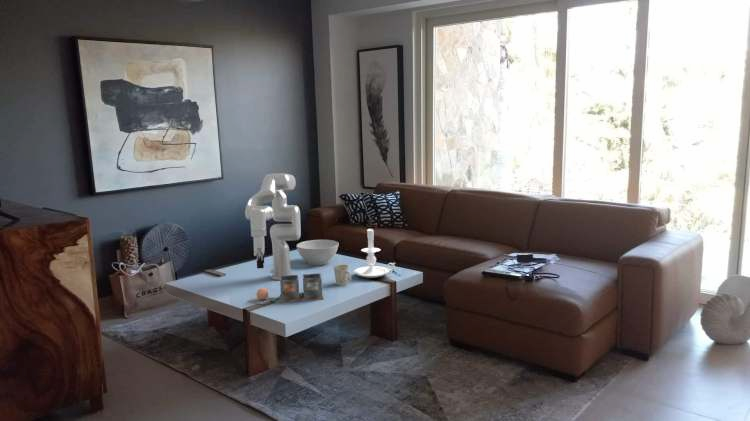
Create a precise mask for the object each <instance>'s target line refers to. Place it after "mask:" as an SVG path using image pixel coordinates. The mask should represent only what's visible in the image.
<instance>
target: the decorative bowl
mask: <svg viewBox="0 0 750 421" xmlns="http://www.w3.org/2000/svg"><path fill="white" fill-rule="evenodd" d="M338 248H339V242H338V241H336V240H332V239H313V240H312V239H311V240H305V241H301V242H299V243H297V244H296V250H297V252H298V254H299V255H300V257H301V258H302V259H303V260H305V261H306V262H308V264H309V265H312V266H320V265H323V266H324V265H326V264H328V263H329V261H330V260H332V259H333V257H335V255H336V254H337V251H338Z"/></svg>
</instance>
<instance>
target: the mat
mask: <svg viewBox="0 0 750 421" xmlns="http://www.w3.org/2000/svg"><path fill="white" fill-rule="evenodd" d="M268 300H270V301H272V302H275V301H277V300H279V298H277V297H272V296H269V295H268V297H267V298H266V299H264V300H260V299H258V297H257V296H256V297H254V298H251V299H249V300H247V302H248V303H253V304H256V305H259V304H258V303H261V302H264V301H268Z"/></svg>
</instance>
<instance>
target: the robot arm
mask: <svg viewBox="0 0 750 421" xmlns="http://www.w3.org/2000/svg"><path fill="white" fill-rule="evenodd" d="M296 182H297V181H296V178H295V176H294V175H293V174H289V173H285V172H284V173H283V172H280V173H274V172H273V173H269V174H266V175H264V178H263V181H262V184H261V186H260V190H259V191H258V192H257V193H255V194H254V195H252V197H250V198H249V199H248V200H247V204H246V207H245V209H244V210H245V211H244V215H245V219H246V220H248V221H250V236H251V237H252V239H253V256H254V257H256V268H257V269H264V267H265V266H264V264H265V256H264V255H265V250H266V249H265V248H266V247H265V244H266V242H265V236H267V222H266V221H270V220H271V219H273V221H275V222H278V223H276V224H272V225H271V227H270V229H269V235H270V239H271V245H272V247H271V248H272V259H273V260H272V261H273V268H272V269H270V271H269V272H270V274H271V273H272V275H271V279H272V280H273V281H280V276H288V275H294V274H293V273H291V259H290V258H291V256H290V247H289V244H288V243H287V241H289V242H290V241H299V240H300V238H301V235H302V233H301V232H302V231H301V230H302V228H301V210H300V208H299V206H298V205H296V204H295V205H294V204H288V200H287V199H288V196H287V194H286V193H285V191H293V190H295V187H296ZM270 202H271V206H270V205H266V204H268V203H270ZM264 204H265V205H264ZM279 222H281V223H279ZM282 222H283V223H282ZM284 222H286V223H284ZM287 222H291V223H287Z"/></svg>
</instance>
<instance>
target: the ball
mask: <svg viewBox="0 0 750 421" xmlns="http://www.w3.org/2000/svg"><path fill="white" fill-rule="evenodd" d="M268 296H269V291H268V289H267V288H264V287H261V288H259V289H258V290H256V298H257V297H258V299H260V300H264V299H266V298H267V297H268Z"/></svg>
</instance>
